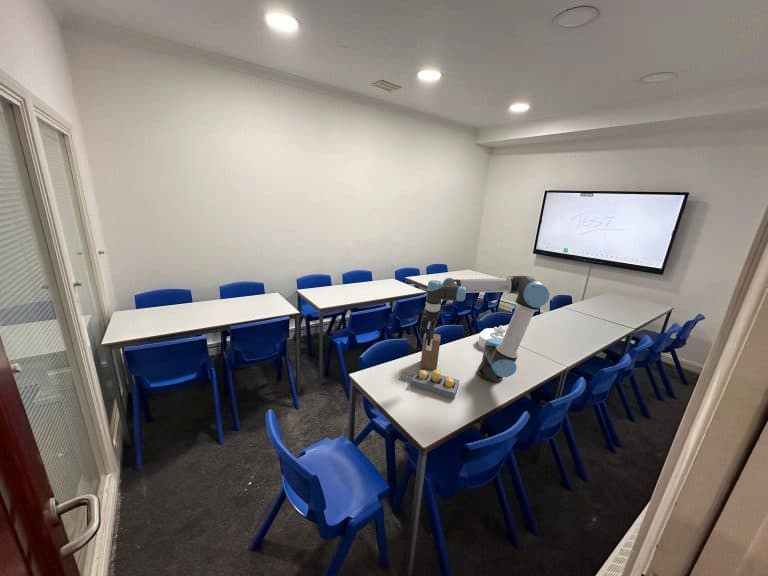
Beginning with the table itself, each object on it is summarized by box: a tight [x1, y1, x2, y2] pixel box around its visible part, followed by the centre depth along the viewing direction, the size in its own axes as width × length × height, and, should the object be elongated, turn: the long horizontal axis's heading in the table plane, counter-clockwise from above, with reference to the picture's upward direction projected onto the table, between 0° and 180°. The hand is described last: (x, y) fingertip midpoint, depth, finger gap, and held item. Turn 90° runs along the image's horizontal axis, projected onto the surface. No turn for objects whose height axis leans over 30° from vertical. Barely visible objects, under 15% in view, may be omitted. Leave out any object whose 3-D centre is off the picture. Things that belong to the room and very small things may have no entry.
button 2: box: [431, 369, 442, 382], centre depth 165 cm, size 5×5×5 cm
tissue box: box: [477, 325, 507, 349], centre depth 217 cm, size 25×25×16 cm
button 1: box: [445, 376, 455, 388], centre depth 163 cm, size 5×5×5 cm
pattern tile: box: [399, 372, 415, 384], centre depth 173 cm, size 7×7×1 cm
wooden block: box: [419, 332, 441, 371], centre depth 184 cm, size 10×10×20 cm
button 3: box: [418, 369, 428, 380], centre depth 168 cm, size 5×5×5 cm
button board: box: [410, 368, 460, 400], centre depth 166 cm, size 24×13×4 cm, turn 66°
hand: (428, 349), depth 164 cm, fingers closed
